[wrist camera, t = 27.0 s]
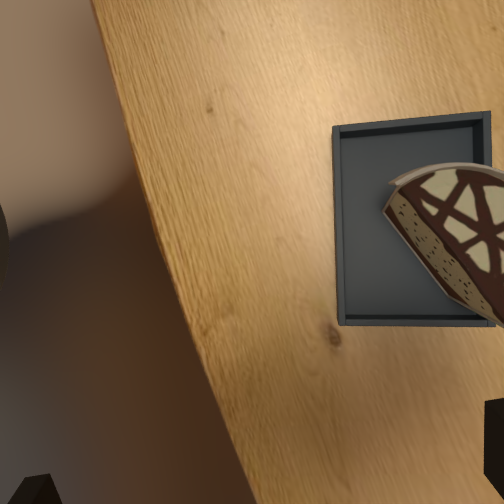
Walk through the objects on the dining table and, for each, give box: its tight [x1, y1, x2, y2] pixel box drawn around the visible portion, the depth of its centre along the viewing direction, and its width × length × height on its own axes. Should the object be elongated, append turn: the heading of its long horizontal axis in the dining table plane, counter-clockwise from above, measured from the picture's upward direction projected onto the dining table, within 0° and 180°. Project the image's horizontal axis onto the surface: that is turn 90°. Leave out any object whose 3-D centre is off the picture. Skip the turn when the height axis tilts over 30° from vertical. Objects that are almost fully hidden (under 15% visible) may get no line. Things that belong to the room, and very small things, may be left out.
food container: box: [381, 162, 504, 328], centre depth 25 cm, size 12×6×10 cm, turn 37°
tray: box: [332, 111, 496, 327], centre depth 30 cm, size 12×17×3 cm
